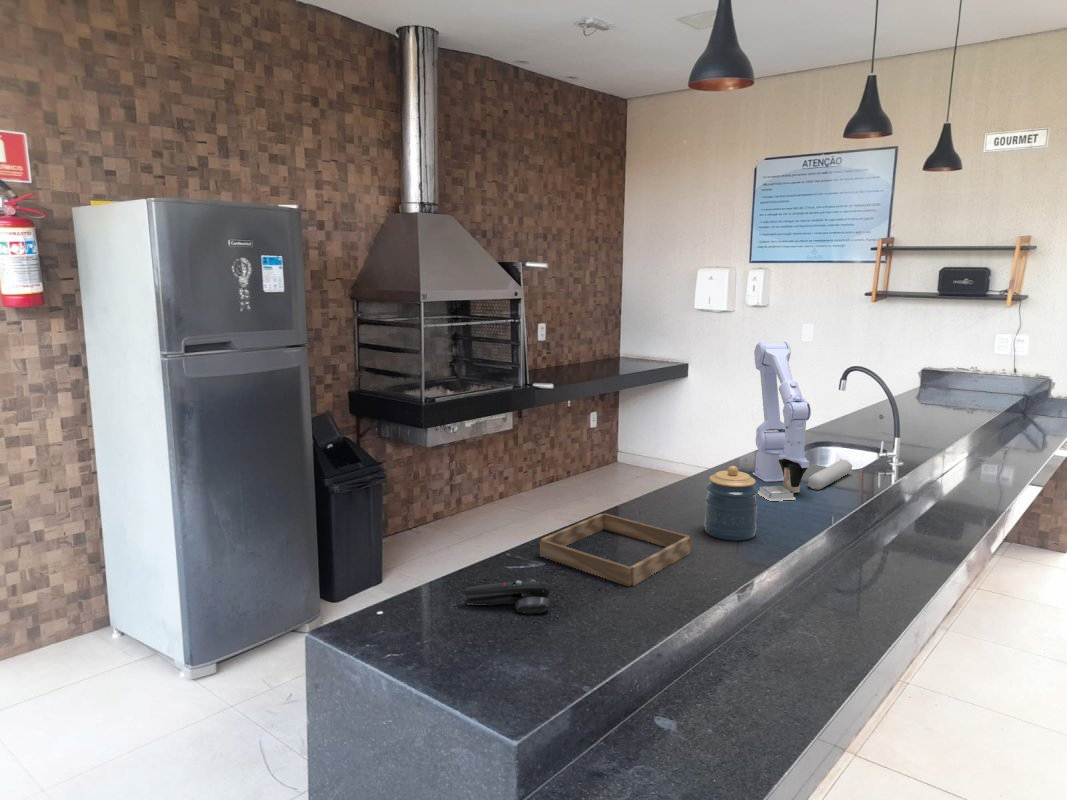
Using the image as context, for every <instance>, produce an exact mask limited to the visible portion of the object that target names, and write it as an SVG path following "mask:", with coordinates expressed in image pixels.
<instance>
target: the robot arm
mask: <svg viewBox="0 0 1067 800" xmlns="http://www.w3.org/2000/svg"><path fill="white" fill-rule="evenodd" d="M791 351H792V349H791V346H790V344H789V342H787V341H783V342H762V341H758V342H757V344H756V345H755V348H754V352H753V353H754V365H755V369H756V370H758V371H759V373H760V384H761V386H760V387H761V396H762V407H763V422H762V423H761V424H760V425H758V426H757V428H756V429H755V430H756V433H755V434H756V436H755V446H756V448H757V449H758V451H757V452H756V454H755V467H754V468H755V469H754V472H752V475H754V476H755V477H757V478H758V479H760V480H762V481H764V483H765V482H766V483H767V482H784V467H789V470H790V476H791V487H799V484H800V485H801V481H802V479H803V476H804V474H805V473H806V471H807V470H808V468H809V469H810V461H809V460H808V459H807V458H806V456H805V443H806V432H807V431H806V430H807V429H806V428H807V421H809V420H810V418H811V414H812V410H811V409H812V408H811V404H810V402H809V401H808V400H806V398H803V396H802V392H801V389H800V387H799V384H798V382H797V381H795V380H793V377H792V373H791V369H790V368H791V367H790V364H789V362H790V358H791V354H792V352H791ZM777 378H778V379H777ZM778 380H779V383H780V385H779V387H778ZM779 394H780V397H781V400H782V403H783V409H782V416H783V421H782V420H781V413H780V410H781V409H780V401H779V400H780V399H779Z"/></svg>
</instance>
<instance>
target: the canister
mask: <svg viewBox="0 0 1067 800" xmlns="http://www.w3.org/2000/svg"><path fill="white" fill-rule="evenodd" d="M709 481H710V482H708V483H707V484H706V485H705V489H706V490H707V496H706V497H705V498H704V499H705V500H704V501H705V516H704V521H703V522H704V524H703V526H704V530H705V533H706V534H707V535H708V536H711V537H713V538H716V539H720V540H724V541H725V540H726V541H733V542H734V541H747V540H751V539H753V538H754V537H755V535H756V531H757V511H758V505H759V502H758V500H757V495H758V494H757V493H758V492H759V491H760V489H758V487H757V486H756V485H755V484H756V479H755V478H754V477H752V476H751V475H750V474H748V473H746V472H743V471H739V469H738V467H737V466H736V465H730V466H729V467H728V468H727V470H720V471H717V472H715V473H714V474H712V475H710V476H709Z"/></svg>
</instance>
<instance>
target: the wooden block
mask: <svg viewBox="0 0 1067 800" xmlns="http://www.w3.org/2000/svg"><path fill="white" fill-rule="evenodd" d="M783 477H784V481H783V483H782V484H783V485H782V486H784V487H786V488H787V489H789V490H791V491H792V492H793V493H794V494H795V493H800V489H801V483H800V484H799V487H791V476H790V470H789V467H784V476H783Z"/></svg>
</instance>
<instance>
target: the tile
mask: <svg viewBox="0 0 1067 800" xmlns="http://www.w3.org/2000/svg"><path fill="white" fill-rule="evenodd" d="M771 493H783V492H781V491H774V492H771ZM758 494H759V496H760V497H761V496H762V497H761V498H763V497H764V498H765V500H766V499H767V500H769V501H779V502H784V501H783V500H795V501H796V497H794V496H793V498H782V499H771V498H768V497H766V496H765V495H763V494H761V493H760V490H759V492H758V493H757V494H756V495H758ZM764 498H763V499H764ZM767 500H766V501H767ZM769 501H768V502H769Z"/></svg>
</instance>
